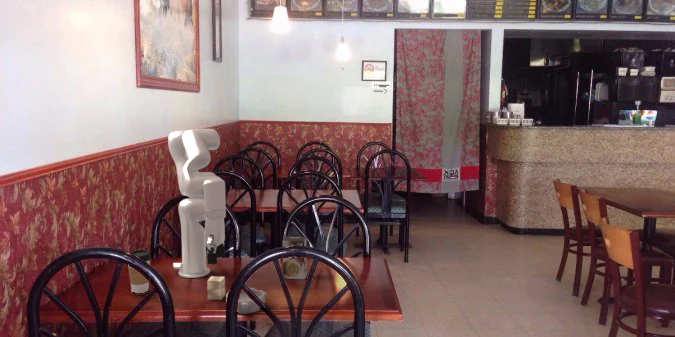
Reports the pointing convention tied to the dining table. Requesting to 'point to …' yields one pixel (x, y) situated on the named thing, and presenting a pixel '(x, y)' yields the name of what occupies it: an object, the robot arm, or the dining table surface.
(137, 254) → the coffee cup
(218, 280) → the maple block
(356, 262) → the dining table surface
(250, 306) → the dish
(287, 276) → the coffee box
